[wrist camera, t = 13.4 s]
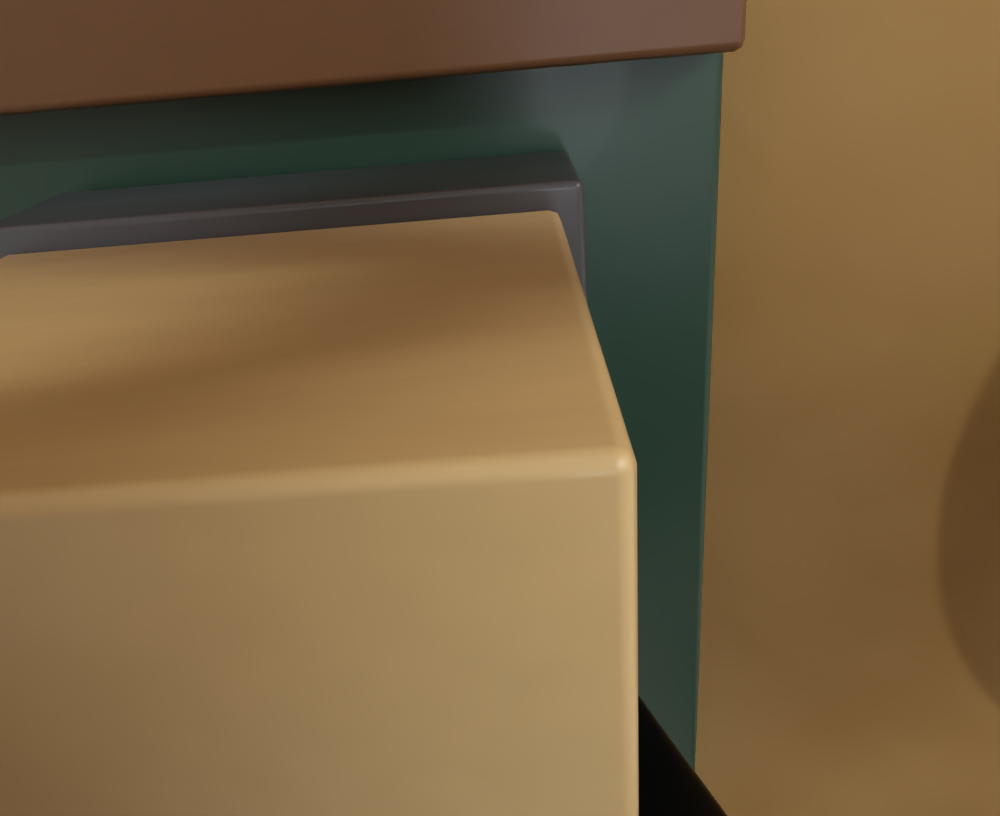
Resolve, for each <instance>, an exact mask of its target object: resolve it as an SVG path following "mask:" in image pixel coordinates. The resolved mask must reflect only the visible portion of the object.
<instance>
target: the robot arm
mask: <svg viewBox="0 0 1000 816" xmlns="http://www.w3.org/2000/svg"><path fill="white" fill-rule="evenodd" d="M638 763H639V816H727V815H726V814H725V812H724V811H723V810H722V808H721V807H720V805H719V804H718V803H717V801H716V800H715V799H714V797H713V796H712V795H711V793H710V792H709V790H708V789H707V788H706V786H705V785H704V784H703V782H702V781H701V780H700V778H699V777H698V775H697V774H696V773H695V771H694V770H693V769H692V767H691V766H690V765H689V763H688V762H687V760H686V759H685V758H684V756H683V755H682V754H681V752H680V751H679V750H678V748H677V747H676V745H675V744H674V743H673V741H672V740H671V739H670V737H669V736H668V734H667V733H666V732H665V730H664V729H663V728H662V726H661V725H660V724H659V722H658V721H657V719H656V718H655V717H654V715H653V714H652V713H651V711H650V710H649V709H648V707H647V706H646V704H645V703H644V702H643V700H642V699H641V698H640V696H639V695H638Z"/></svg>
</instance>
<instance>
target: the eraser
mask: <svg viewBox="0 0 1000 816" xmlns="http://www.w3.org/2000/svg"><path fill="white" fill-rule="evenodd" d="M0 816H639V763H638V560H637V462H636V458H635V455H634V452H633V449H632V446H631V442H630V439H629V436H628V433H627V430H626V426H625V423H624V420H623V417H622V414H621V410H620V407H619V404H618V401H617V398H616V394H615V391H614V388H613V385H612V382H611V378H610V375H609V372H608V369H607V366H606V362H605V359H604V356H603V353H602V350H601V346H600V343H599V340H598V337H597V334H596V330H595V327H594V324H593V321H592V318H591V314H590V311H589V308H588V305H587V279H586V249H585V219H584V189H583V184H582V182H581V180H580V178H579V176H578V174H577V172H576V170H575V168H574V166H573V164H572V162H571V160H570V157H569V155H568V153H567V152H564V151H553V152H541V153H529V154H517V155H506V156H494V157H482V158H470V159H458V160H446V161H435V162H423V163H411V164H399V165H387V166H376V167H364V168H352V169H340V170H328V171H317V172H305V173H293V174H281V175H269V176H257V177H246V178H234V179H222V180H210V181H198V182H187V183H175V184H163V185H151V186H139V187H128V188H116V189H104V190H92V191H80V192H69V193H61V194H59V195H57V196H54V197H52V198H50V199H48V200H45V201H43V202H41V203H38V204H36V205H34V206H32V207H29V208H27V209H25V210H23V211H20V212H18V213H16V214H13V215H11V216H9V217H7V218H4V219H2V220H0Z"/></svg>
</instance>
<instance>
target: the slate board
mask: <svg viewBox="0 0 1000 816" xmlns="http://www.w3.org/2000/svg"><path fill="white" fill-rule="evenodd" d="M746 1H747V0H0V220H2V219H4V218H7V217H9V216H11V215H13V214H16V213H18V212H20V211H23V210H25V209H27V208H29V207H32V206H34V205H36V204H38V203H41V202H43V201H45V200H48V199H50V198H52V197H54V196H57V195H59V194H61V193H69V192H80V191H92V190H104V189H116V188H128V187H139V186H151V185H163V184H175V183H187V182H198V181H210V180H222V179H234V178H246V177H257V176H269V175H281V174H293V173H305V172H317V171H328V170H340V169H352V168H364V167H376V166H387V165H399V164H411V163H423V162H435V161H446V160H458V159H470V158H482V157H494V156H506V155H517V154H529V153H541V152H553V151H564V152H567V153H568V155H569V157H570V160H571V162H572V164H573V166H574V168H575V170H576V172H577V174H578V176H579V178H580V180H581V182H582V184H583V189H584V219H585V249H586V279H587V305H588V308H589V311H590V314H591V318H592V321H593V324H594V327H595V330H596V334H597V337H598V340H599V343H600V346H601V350H602V353H603V356H604V359H605V362H606V366H607V369H608V372H609V375H610V378H611V382H612V385H613V388H614V391H615V394H616V398H617V401H618V404H619V407H620V410H621V414H622V417H623V420H624V423H625V426H626V430H627V433H628V436H629V439H630V442H631V446H632V449H633V452H634V455H635V458H636V462H637V560H638V695H639V696H640V698H641V699H642V700H643V702H644V703H645V704H646V706H647V707H648V709H649V710H650V711H651V713H652V714H653V715H654V717H655V718H656V719H657V721H658V722H659V724H660V725H661V726H662V728H663V729H664V730H665V732H666V733H667V734H668V736H669V737H670V739H671V740H672V741H673V743H674V744H675V745H676V747H677V748H678V750H679V751H680V752H681V754H682V755H683V756H684V758H685V759H686V760H687V762H688V763H689V765H690V766H691V767H692V769H693V770H694V771H695V752H696V727H697V702H698V677H699V652H700V627H701V601H702V576H703V551H704V526H705V501H706V476H707V450H708V425H709V400H710V375H711V350H712V325H713V300H714V274H715V249H716V224H717V199H718V174H719V149H720V124H721V98H722V73H723V52H733V51H736V50H737V49H739V48H741V47H742V44H743V42H744V40H745V21H746Z"/></svg>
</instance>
